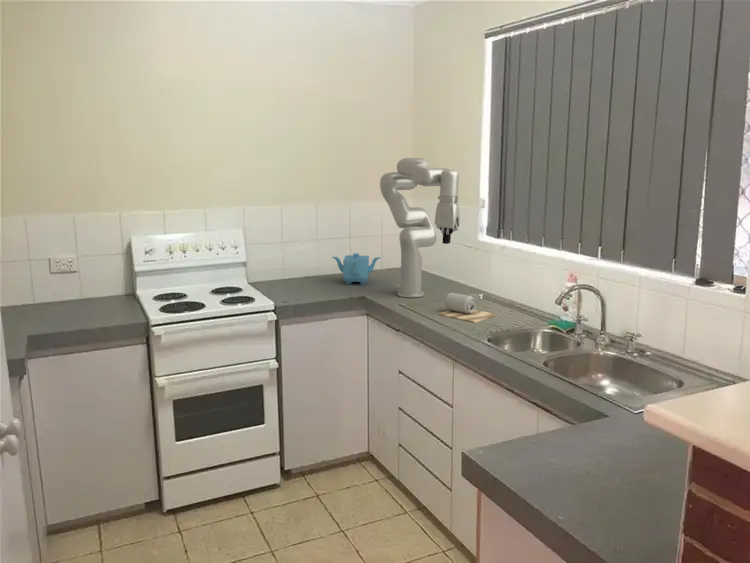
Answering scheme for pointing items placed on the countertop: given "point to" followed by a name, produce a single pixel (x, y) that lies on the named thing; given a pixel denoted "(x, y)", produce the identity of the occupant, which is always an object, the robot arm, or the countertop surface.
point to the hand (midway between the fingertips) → (446, 243)
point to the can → (460, 303)
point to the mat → (469, 315)
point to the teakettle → (356, 268)
